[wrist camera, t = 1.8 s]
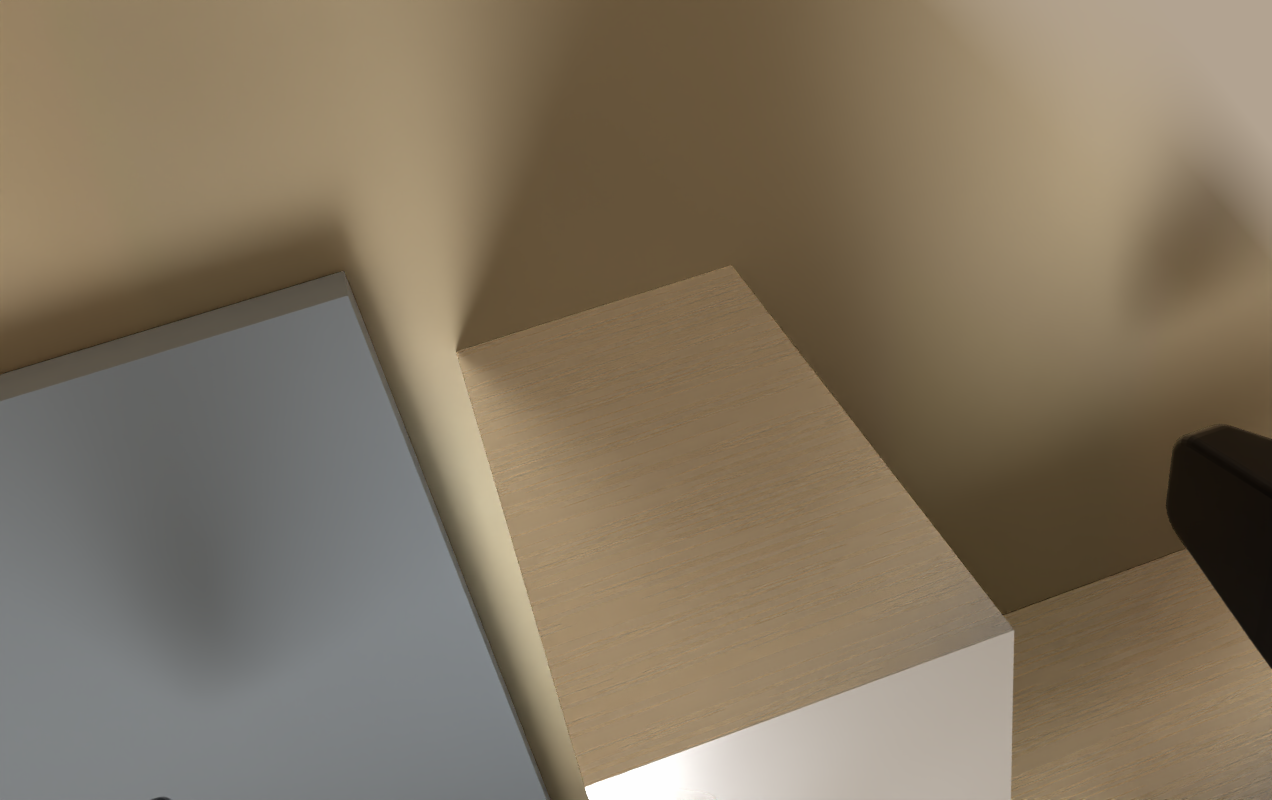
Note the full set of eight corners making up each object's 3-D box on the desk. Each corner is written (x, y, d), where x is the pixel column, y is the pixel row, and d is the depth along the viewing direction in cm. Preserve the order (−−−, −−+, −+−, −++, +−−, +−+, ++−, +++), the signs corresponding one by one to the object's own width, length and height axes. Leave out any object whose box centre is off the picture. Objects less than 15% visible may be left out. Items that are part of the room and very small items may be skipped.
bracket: (455, 350, 9) (584, 787, 6) (1257, 100, 10) (1789, 345, 7) (636, 880, 14) (766, 1298, 10) (1171, 677, 15) (1458, 1000, 11)
